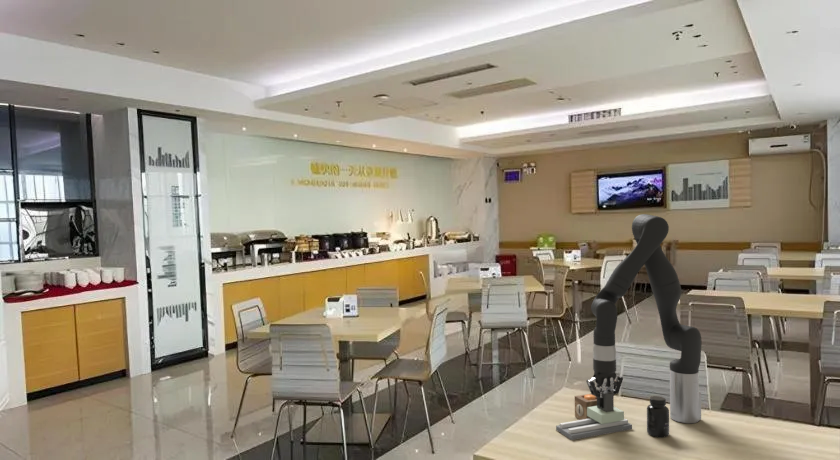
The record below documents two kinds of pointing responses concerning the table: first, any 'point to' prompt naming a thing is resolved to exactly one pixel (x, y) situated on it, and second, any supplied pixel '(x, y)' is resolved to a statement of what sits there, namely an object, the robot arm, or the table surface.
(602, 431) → the track
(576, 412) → the cabinet
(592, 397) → the button
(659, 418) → the supplement bottle
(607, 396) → the carriage
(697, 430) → the table surface
